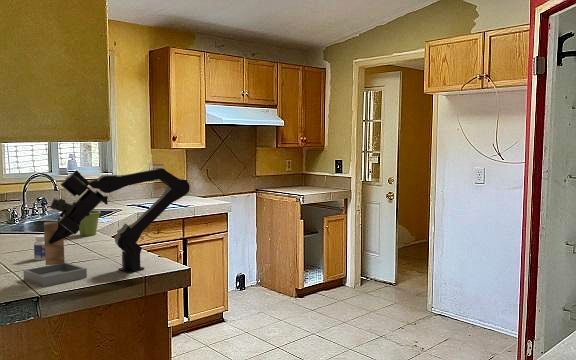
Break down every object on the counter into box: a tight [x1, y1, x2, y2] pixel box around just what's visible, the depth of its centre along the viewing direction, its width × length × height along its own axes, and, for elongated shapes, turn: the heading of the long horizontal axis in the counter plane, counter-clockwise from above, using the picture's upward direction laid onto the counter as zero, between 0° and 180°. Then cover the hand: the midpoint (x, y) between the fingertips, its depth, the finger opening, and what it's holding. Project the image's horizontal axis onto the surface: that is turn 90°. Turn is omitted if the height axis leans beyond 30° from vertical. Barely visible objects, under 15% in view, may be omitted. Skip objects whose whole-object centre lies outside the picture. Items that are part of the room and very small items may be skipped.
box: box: [23, 261, 88, 288], centre depth 161 cm, size 14×14×3 cm
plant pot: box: [78, 210, 101, 237], centre depth 240 cm, size 12×12×11 cm
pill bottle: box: [33, 234, 45, 261], centre depth 189 cm, size 5×5×9 cm
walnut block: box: [43, 221, 66, 266], centre depth 160 cm, size 6×6×13 cm
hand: (49, 241), depth 159 cm, fingers closed on walnut block, 5 cm apart
